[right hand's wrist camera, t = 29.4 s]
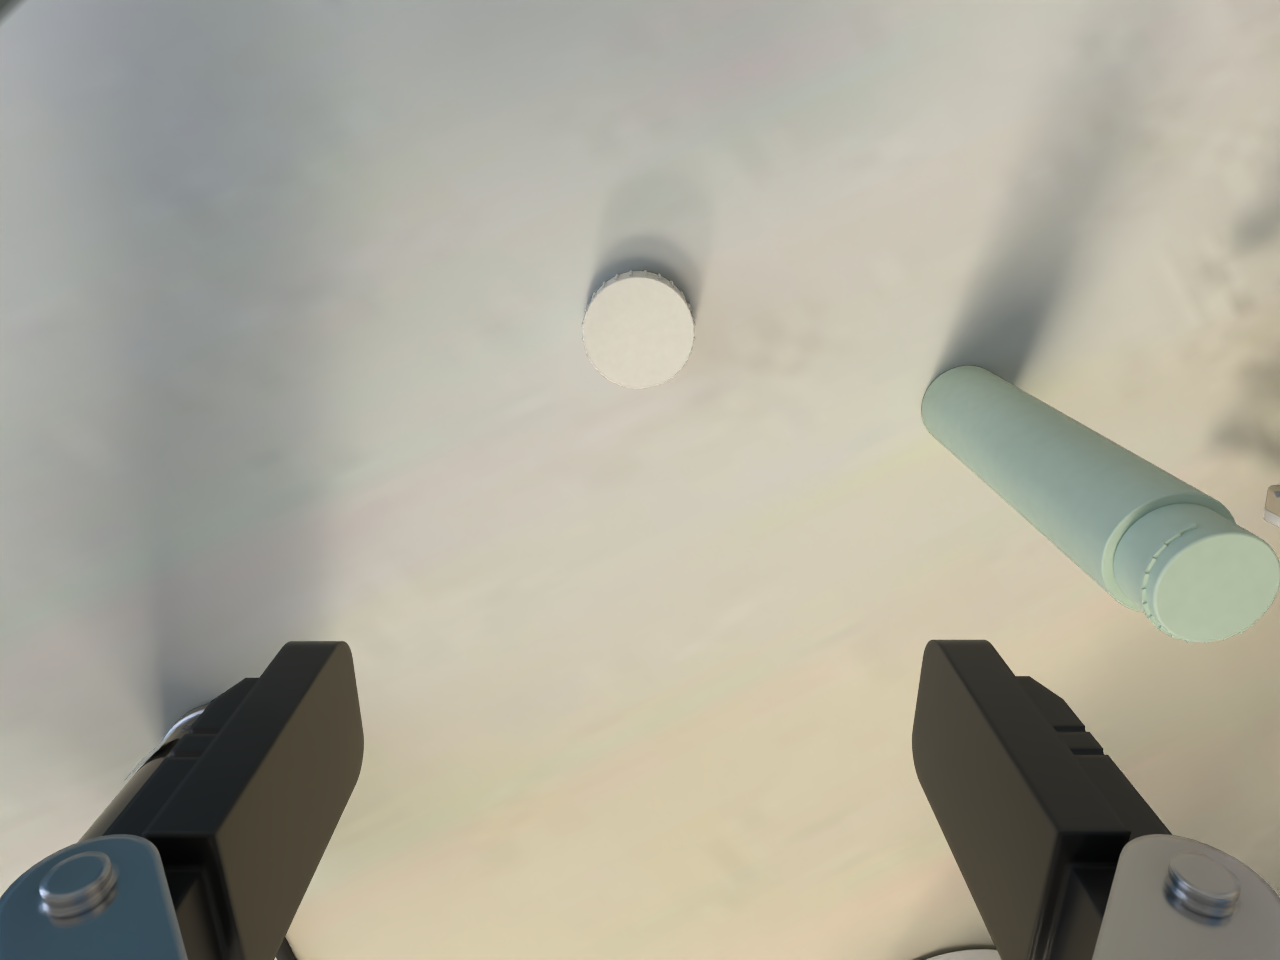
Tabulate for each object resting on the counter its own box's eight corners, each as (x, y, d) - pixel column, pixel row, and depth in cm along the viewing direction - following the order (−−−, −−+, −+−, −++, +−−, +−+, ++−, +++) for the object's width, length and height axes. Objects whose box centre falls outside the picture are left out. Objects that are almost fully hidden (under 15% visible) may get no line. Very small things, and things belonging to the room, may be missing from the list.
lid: (715, 324, 39) (719, 333, 37) (639, 399, 40) (639, 412, 38) (637, 245, 38) (637, 250, 35) (561, 325, 39) (557, 335, 37)
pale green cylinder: (904, 404, 40) (1114, 587, 22) (971, 347, 39) (1247, 492, 21) (953, 460, 41) (1191, 677, 24) (1019, 406, 40) (1321, 591, 23)
